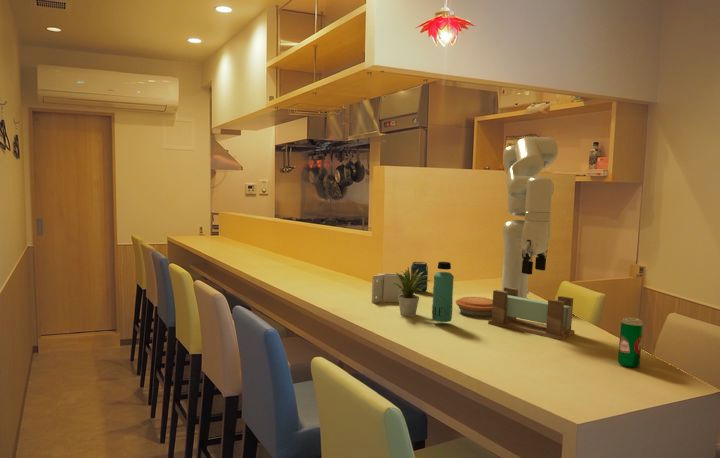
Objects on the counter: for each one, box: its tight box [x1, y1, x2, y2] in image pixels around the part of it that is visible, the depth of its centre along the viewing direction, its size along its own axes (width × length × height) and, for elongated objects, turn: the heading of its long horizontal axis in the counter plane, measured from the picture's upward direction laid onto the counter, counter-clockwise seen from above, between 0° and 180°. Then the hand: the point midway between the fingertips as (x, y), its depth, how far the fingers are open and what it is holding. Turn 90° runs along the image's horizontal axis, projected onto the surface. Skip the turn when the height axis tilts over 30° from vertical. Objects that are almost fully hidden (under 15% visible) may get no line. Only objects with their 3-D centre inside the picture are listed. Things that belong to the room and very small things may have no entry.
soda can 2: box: [617, 316, 644, 369], centre depth 140 cm, size 5×5×12 cm
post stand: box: [488, 287, 576, 341], centre depth 173 cm, size 10×24×11 cm, turn 49°
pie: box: [455, 296, 493, 318], centre depth 192 cm, size 15×16×5 cm
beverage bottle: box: [431, 261, 454, 323], centre depth 174 cm, size 6×7×20 cm
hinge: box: [371, 273, 405, 304], centre depth 206 cm, size 14×5×10 cm, turn 106°
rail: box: [506, 295, 573, 328], centre depth 173 cm, size 4×24×6 cm, turn 49°
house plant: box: [392, 266, 432, 317], centre depth 184 cm, size 14×14×16 cm
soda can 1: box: [410, 261, 429, 294], centre depth 225 cm, size 7×7×12 cm
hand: (533, 271), depth 173 cm, fingers open, 9 cm apart
